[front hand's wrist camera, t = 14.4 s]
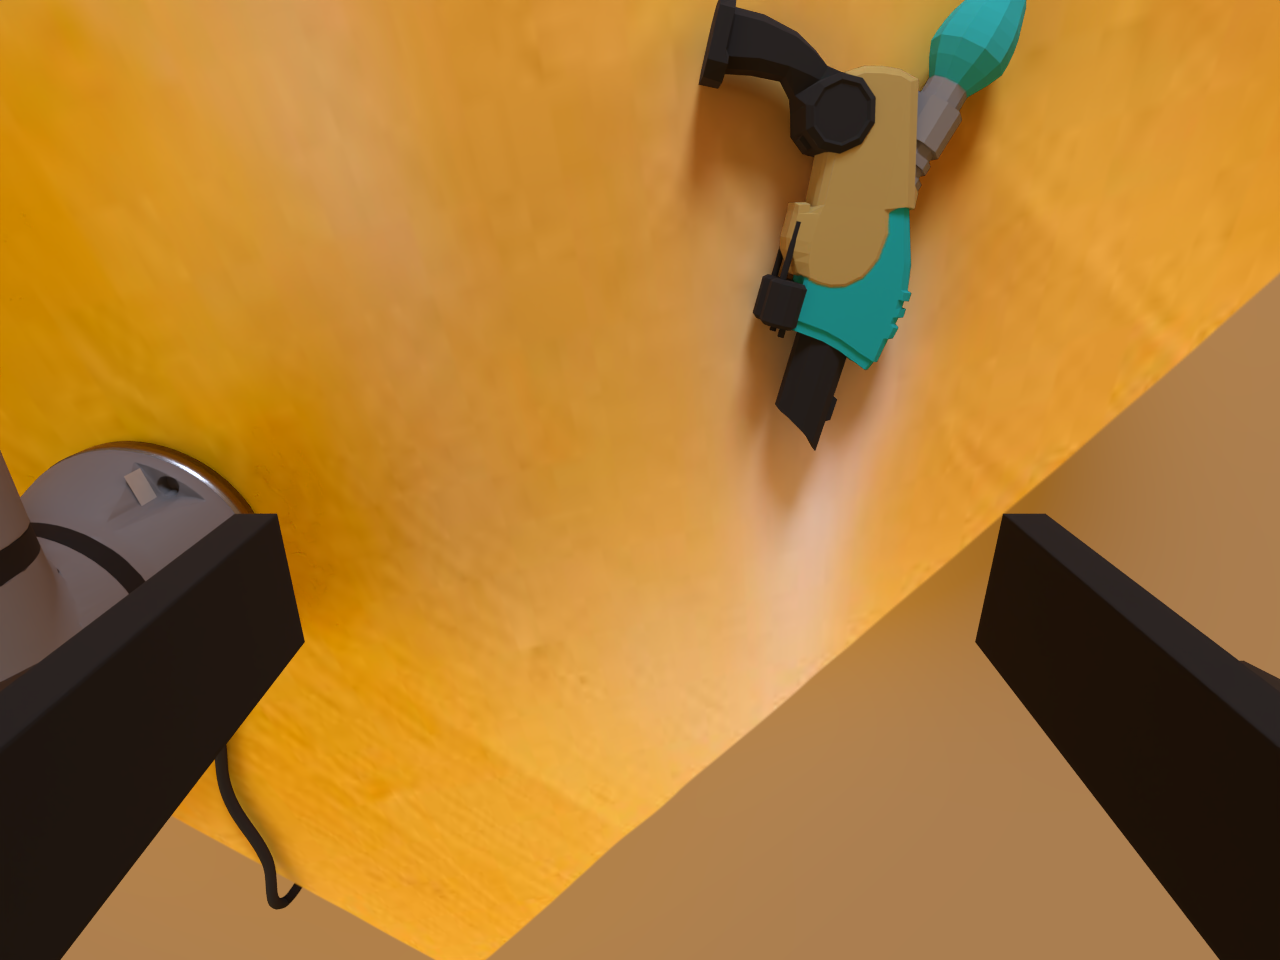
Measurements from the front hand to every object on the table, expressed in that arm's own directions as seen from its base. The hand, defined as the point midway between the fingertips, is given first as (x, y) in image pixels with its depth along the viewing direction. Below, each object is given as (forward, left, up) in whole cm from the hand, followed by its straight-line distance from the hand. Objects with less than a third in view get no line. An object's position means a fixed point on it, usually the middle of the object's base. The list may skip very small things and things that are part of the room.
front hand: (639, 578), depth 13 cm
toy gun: (+4, -10, -31) cm, 33 cm away
